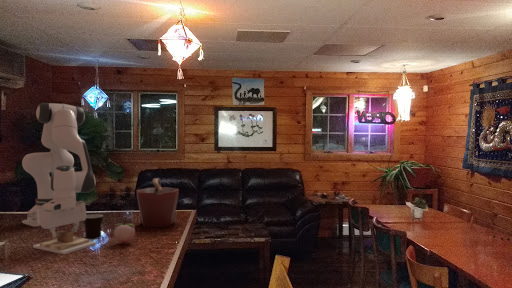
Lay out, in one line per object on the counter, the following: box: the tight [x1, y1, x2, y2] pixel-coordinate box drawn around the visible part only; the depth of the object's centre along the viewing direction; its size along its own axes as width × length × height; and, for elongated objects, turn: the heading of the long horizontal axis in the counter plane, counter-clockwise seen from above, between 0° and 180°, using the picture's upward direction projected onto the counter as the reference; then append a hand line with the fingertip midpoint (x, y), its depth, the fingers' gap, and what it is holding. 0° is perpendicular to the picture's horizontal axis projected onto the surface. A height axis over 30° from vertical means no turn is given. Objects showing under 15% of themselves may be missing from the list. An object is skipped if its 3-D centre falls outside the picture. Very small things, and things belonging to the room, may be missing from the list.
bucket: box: [136, 177, 180, 228], centre depth 214 cm, size 24×22×25 cm
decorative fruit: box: [113, 221, 136, 244], centre depth 175 cm, size 9×8×10 cm
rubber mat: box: [32, 240, 97, 255], centre depth 171 cm, size 20×16×1 cm
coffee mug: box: [83, 213, 104, 240], centre depth 188 cm, size 12×9×10 cm
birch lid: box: [39, 230, 91, 250], centre depth 171 cm, size 14×14×5 cm
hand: (64, 234), depth 171 cm, fingers open, 8 cm apart
